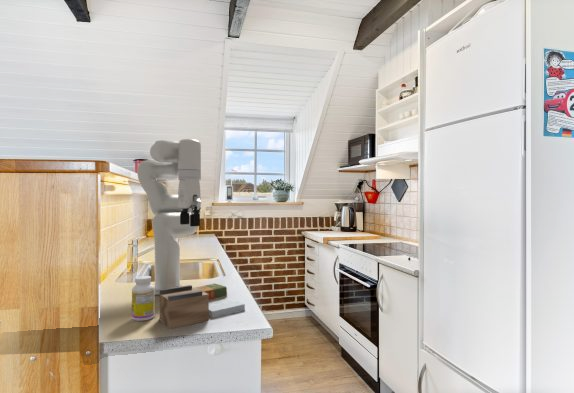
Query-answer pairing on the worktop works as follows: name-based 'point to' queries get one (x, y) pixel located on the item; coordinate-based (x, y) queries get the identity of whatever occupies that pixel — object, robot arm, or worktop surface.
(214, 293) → the carton
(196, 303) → the slot box
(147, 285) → the supplement bottle
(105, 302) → the worktop surface
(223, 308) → the cover plate
